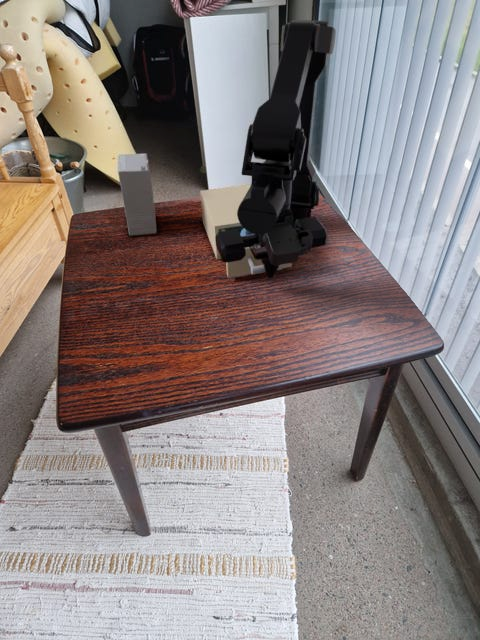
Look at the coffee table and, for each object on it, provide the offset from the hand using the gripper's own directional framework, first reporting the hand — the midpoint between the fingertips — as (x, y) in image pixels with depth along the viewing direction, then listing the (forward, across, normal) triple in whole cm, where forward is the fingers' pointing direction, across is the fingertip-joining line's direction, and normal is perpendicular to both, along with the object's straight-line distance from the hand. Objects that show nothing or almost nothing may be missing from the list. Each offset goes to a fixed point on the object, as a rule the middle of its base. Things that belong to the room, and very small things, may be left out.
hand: (269, 277), depth 78 cm
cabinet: (+4, 0, +21) cm, 22 cm away
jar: (+2, 0, +10) cm, 11 cm away
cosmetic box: (+4, -21, +31) cm, 38 cm away
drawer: (+3, 0, +11) cm, 11 cm away
